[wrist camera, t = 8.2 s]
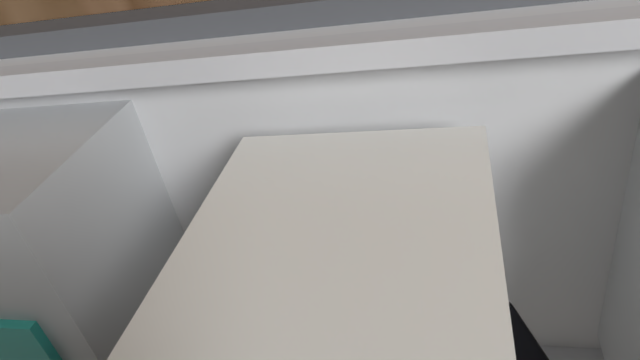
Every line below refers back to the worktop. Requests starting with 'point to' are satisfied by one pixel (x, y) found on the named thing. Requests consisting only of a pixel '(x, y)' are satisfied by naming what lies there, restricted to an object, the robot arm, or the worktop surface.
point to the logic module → (337, 255)
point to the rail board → (383, 108)
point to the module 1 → (77, 228)
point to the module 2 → (624, 276)
